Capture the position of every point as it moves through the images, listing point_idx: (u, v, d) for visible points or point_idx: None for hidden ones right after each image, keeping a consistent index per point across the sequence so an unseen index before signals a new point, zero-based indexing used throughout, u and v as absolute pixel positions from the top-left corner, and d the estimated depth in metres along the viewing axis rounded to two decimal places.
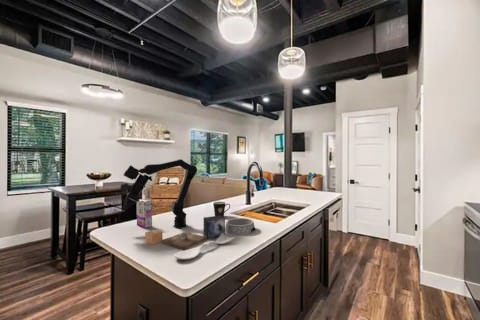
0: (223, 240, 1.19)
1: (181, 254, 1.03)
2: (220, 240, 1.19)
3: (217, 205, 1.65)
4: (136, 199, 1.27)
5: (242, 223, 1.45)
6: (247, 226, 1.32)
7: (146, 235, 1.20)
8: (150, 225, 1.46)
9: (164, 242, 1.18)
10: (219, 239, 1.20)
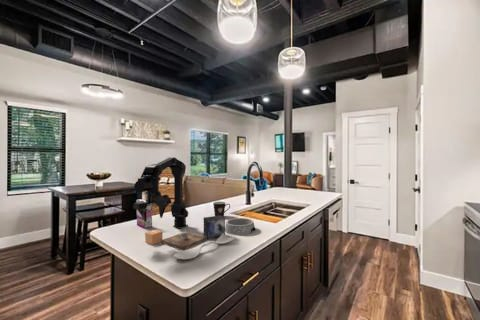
0: (223, 240, 1.19)
1: (181, 254, 1.03)
2: (220, 240, 1.19)
3: (217, 205, 1.65)
4: None
5: (242, 223, 1.45)
6: (247, 226, 1.32)
7: (146, 235, 1.20)
8: (150, 225, 1.46)
9: (164, 242, 1.18)
10: (219, 239, 1.20)
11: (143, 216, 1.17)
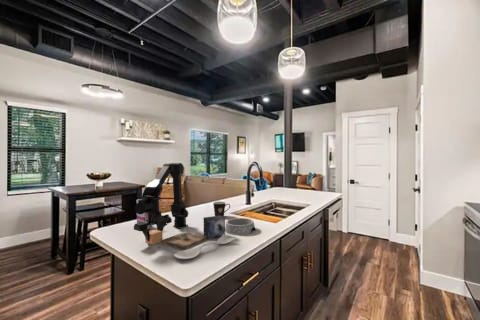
0: (224, 240, 1.18)
1: (181, 254, 1.03)
2: (221, 240, 1.19)
3: (217, 205, 1.65)
4: None
5: (242, 223, 1.46)
6: (247, 226, 1.32)
7: None
8: None
9: (164, 242, 1.18)
10: (220, 239, 1.20)
11: (146, 236, 1.18)
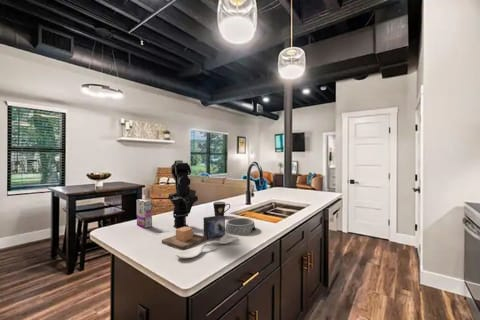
0: (226, 240, 1.19)
1: (183, 253, 1.04)
2: (223, 240, 1.19)
3: (217, 205, 1.65)
4: None
5: (242, 223, 1.46)
6: (247, 226, 1.32)
7: (185, 233, 1.18)
8: (150, 225, 1.46)
9: (164, 242, 1.18)
10: (222, 239, 1.20)
11: (190, 208, 1.30)
